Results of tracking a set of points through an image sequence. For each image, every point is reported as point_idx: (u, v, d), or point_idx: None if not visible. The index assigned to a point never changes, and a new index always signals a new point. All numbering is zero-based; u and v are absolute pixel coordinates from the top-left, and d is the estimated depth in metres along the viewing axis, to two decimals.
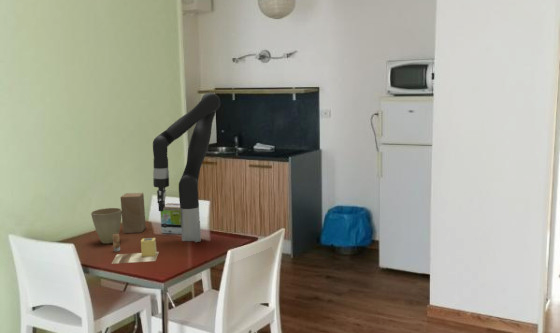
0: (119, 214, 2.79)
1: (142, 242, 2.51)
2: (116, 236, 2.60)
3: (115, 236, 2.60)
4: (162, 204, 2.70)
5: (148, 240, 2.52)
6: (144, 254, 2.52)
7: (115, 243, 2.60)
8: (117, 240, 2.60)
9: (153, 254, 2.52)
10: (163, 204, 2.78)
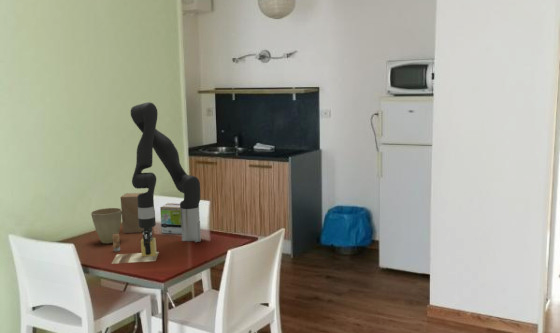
0: (119, 214, 2.79)
1: (142, 242, 2.51)
2: (116, 236, 2.60)
3: (115, 236, 2.60)
4: (149, 247, 2.51)
5: None
6: (144, 254, 2.52)
7: (115, 243, 2.60)
8: (117, 240, 2.60)
9: (153, 254, 2.52)
10: None
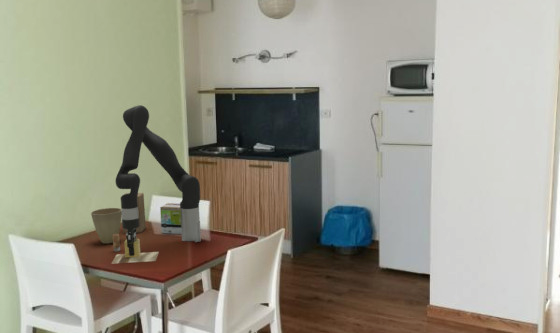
0: (119, 214, 2.79)
1: (126, 243, 2.50)
2: (116, 236, 2.60)
3: (115, 236, 2.60)
4: (133, 248, 2.50)
5: None
6: (128, 255, 2.51)
7: (115, 243, 2.60)
8: (117, 240, 2.60)
9: (137, 255, 2.51)
10: None
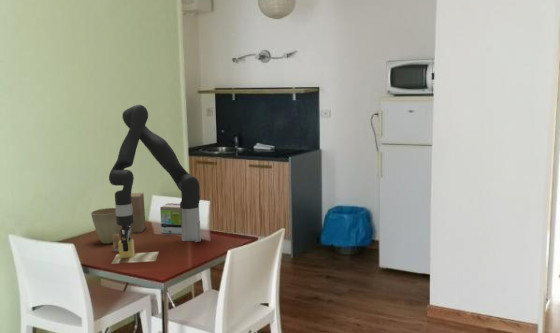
0: None
1: (119, 243, 2.50)
2: (116, 236, 2.60)
3: (115, 236, 2.60)
4: (127, 243, 2.48)
5: None
6: (122, 255, 2.51)
7: (115, 243, 2.60)
8: (117, 240, 2.60)
9: (131, 255, 2.51)
10: None
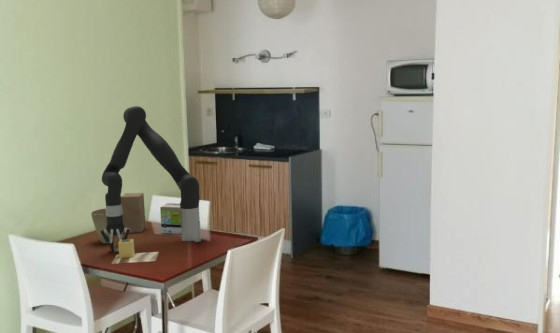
0: None
1: (119, 243, 2.50)
2: (116, 236, 2.60)
3: (115, 236, 2.60)
4: (111, 243, 2.61)
5: (125, 241, 2.51)
6: (122, 255, 2.51)
7: (115, 243, 2.60)
8: (117, 240, 2.60)
9: (131, 255, 2.51)
10: None
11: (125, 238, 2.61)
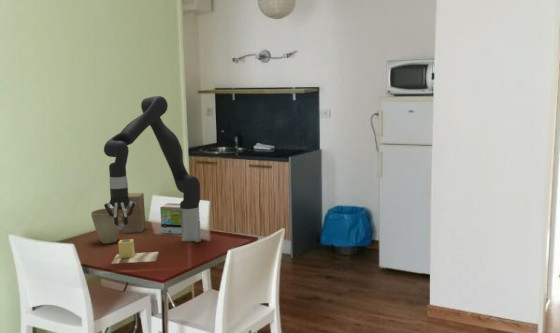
0: None
1: (119, 243, 2.50)
2: (121, 210, 2.43)
3: (119, 210, 2.43)
4: (115, 218, 2.43)
5: (125, 241, 2.51)
6: (122, 255, 2.51)
7: (119, 218, 2.43)
8: (122, 214, 2.43)
9: (131, 255, 2.51)
10: (124, 221, 2.44)
11: (130, 212, 2.43)
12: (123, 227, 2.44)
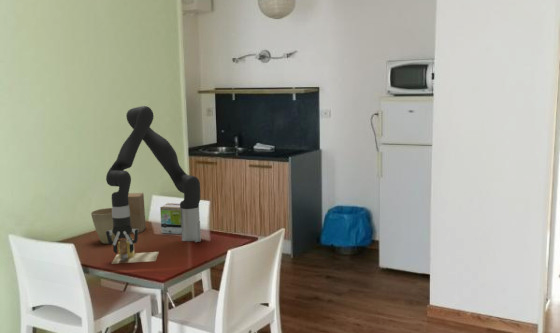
0: None
1: (119, 243, 2.50)
2: (123, 242, 2.44)
3: (122, 242, 2.44)
4: (114, 246, 2.45)
5: None
6: None
7: (122, 250, 2.45)
8: (124, 246, 2.45)
9: (131, 255, 2.51)
10: (130, 248, 2.46)
11: (136, 240, 2.45)
12: (126, 259, 2.46)
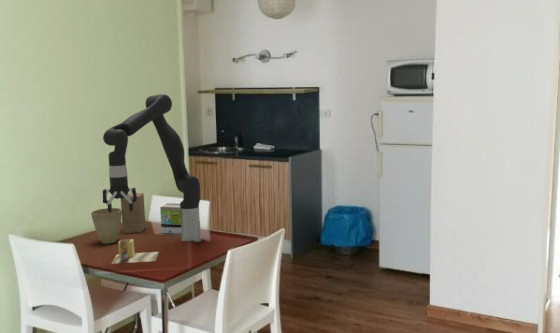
0: (119, 214, 2.79)
1: (119, 243, 2.50)
2: (124, 242, 2.45)
3: (122, 242, 2.45)
4: (109, 205, 2.42)
5: None
6: None
7: (122, 250, 2.45)
8: (124, 246, 2.45)
9: (131, 255, 2.51)
10: None
11: (135, 199, 2.43)
12: (126, 259, 2.46)
